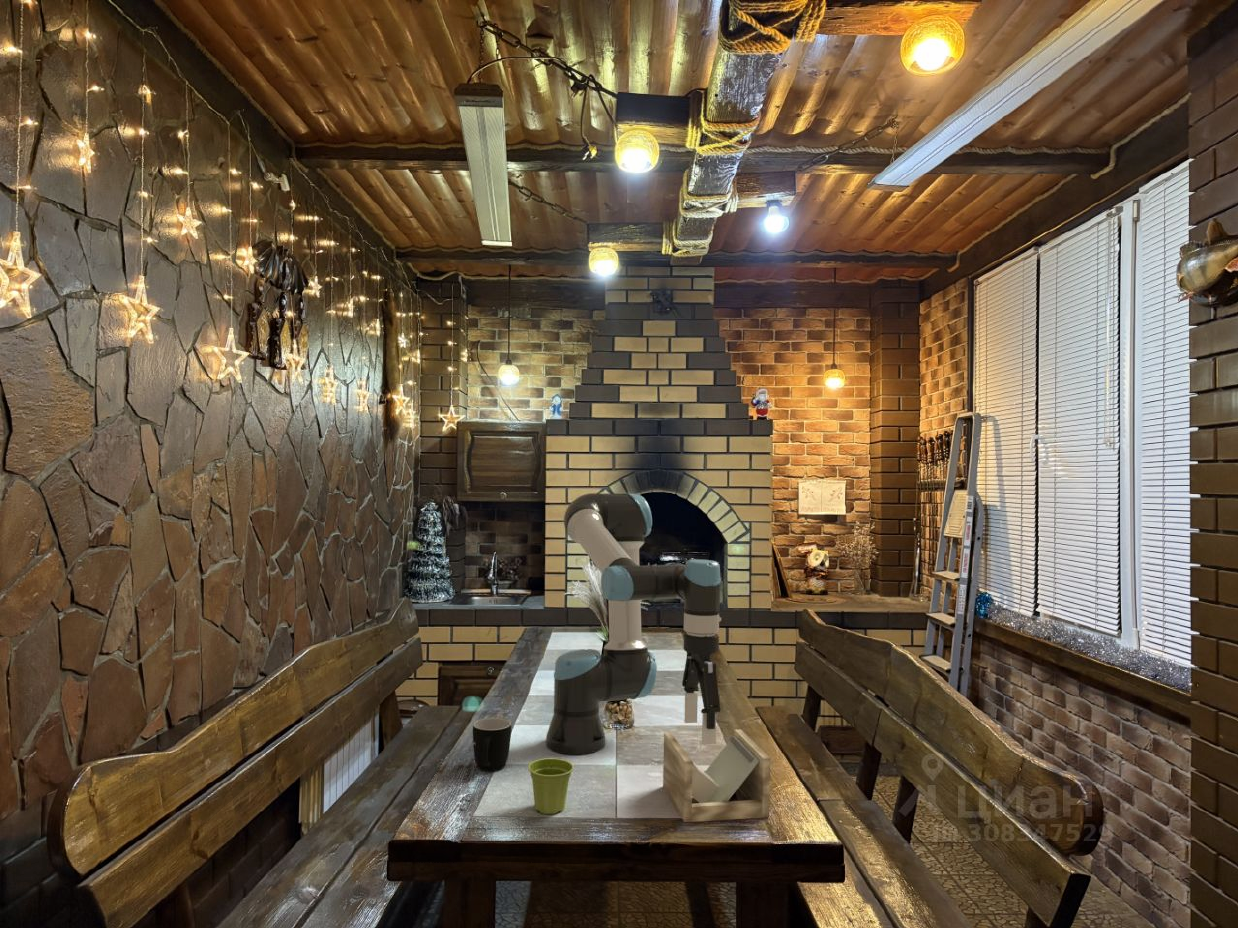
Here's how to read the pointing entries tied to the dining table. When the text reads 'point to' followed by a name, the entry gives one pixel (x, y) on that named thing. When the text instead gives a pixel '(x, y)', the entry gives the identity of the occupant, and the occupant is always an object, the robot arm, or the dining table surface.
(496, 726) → the mug
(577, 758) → the dining table surface
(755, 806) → the hatch frame
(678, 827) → the dining table surface
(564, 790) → the plant pot
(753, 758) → the trapdoor
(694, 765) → the beige block
